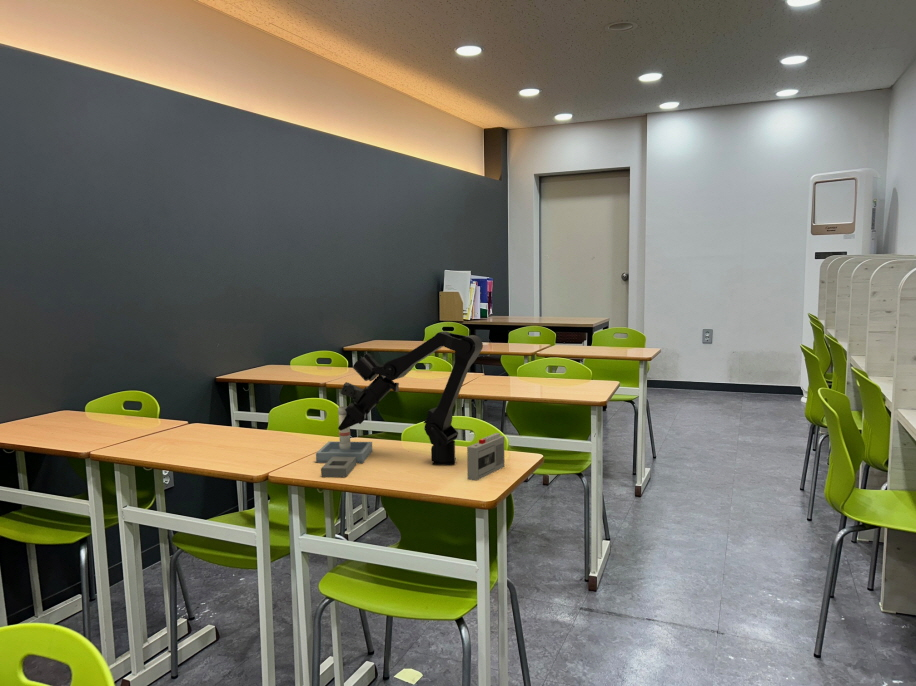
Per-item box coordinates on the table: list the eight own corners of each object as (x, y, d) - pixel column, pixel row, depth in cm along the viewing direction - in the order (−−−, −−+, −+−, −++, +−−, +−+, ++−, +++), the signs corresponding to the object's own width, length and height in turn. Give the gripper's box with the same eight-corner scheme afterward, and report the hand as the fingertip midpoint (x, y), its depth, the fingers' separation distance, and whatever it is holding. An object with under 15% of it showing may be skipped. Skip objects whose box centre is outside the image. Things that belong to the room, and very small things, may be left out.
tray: (372, 451, 208) (372, 441, 207) (362, 463, 194) (362, 453, 193) (329, 450, 209) (328, 441, 208) (316, 462, 195) (316, 452, 194)
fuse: (351, 447, 202) (350, 406, 201) (349, 450, 199) (348, 408, 198) (341, 447, 203) (339, 406, 201) (338, 450, 199) (336, 408, 198)
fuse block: (356, 465, 192) (356, 456, 192) (346, 477, 180) (346, 468, 180) (332, 464, 192) (332, 456, 192) (321, 477, 180) (321, 468, 180)
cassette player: (476, 481, 176) (475, 444, 175) (467, 479, 177) (467, 443, 176) (504, 467, 189) (504, 432, 188) (496, 465, 190) (496, 431, 189)
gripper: (360, 369, 208) (326, 404, 209) (351, 378, 189) (314, 416, 190) (385, 393, 209) (352, 428, 210) (379, 404, 190) (342, 442, 191)
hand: (340, 428), depth 200 cm, fingers closed on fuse, 3 cm apart
